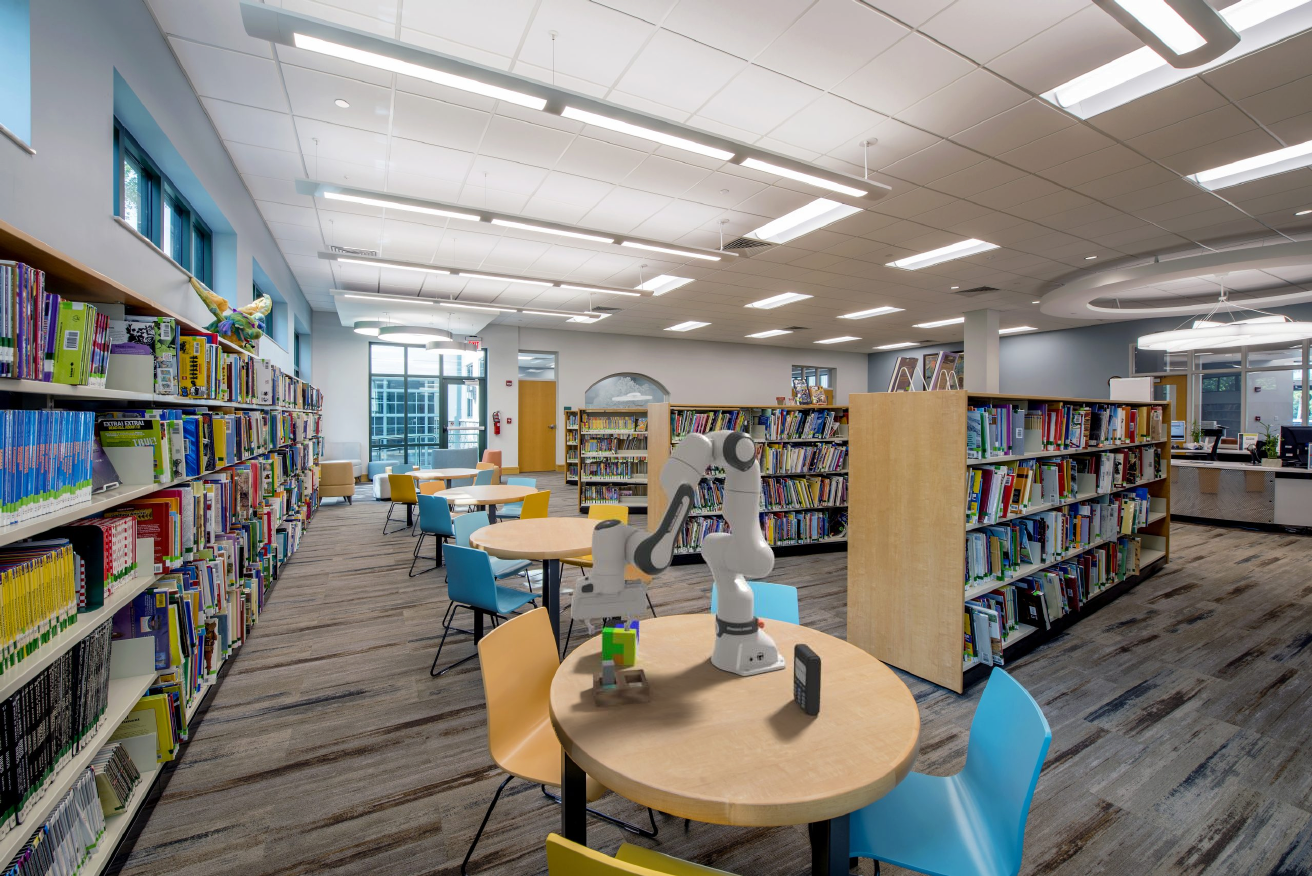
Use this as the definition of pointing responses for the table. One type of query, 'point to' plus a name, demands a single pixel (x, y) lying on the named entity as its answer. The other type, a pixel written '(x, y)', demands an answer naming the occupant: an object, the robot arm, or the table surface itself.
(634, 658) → the puzzle toy
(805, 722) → the table surface
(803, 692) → the card reader
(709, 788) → the table surface
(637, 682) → the socket block
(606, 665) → the plug
